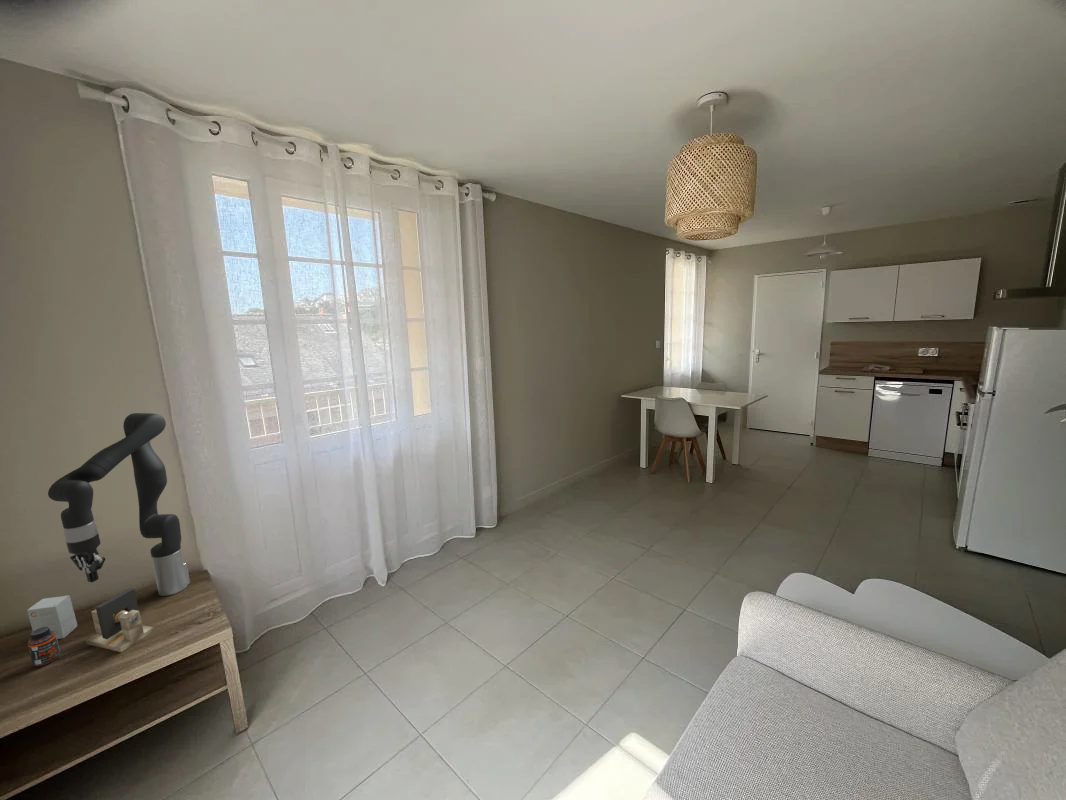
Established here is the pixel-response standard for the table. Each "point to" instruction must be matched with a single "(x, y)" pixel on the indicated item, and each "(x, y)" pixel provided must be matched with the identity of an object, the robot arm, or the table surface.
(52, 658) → the supplement bottle
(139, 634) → the pipe stand
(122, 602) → the dark grey flat block
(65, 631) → the small box
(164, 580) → the robot arm
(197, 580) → the table surface
